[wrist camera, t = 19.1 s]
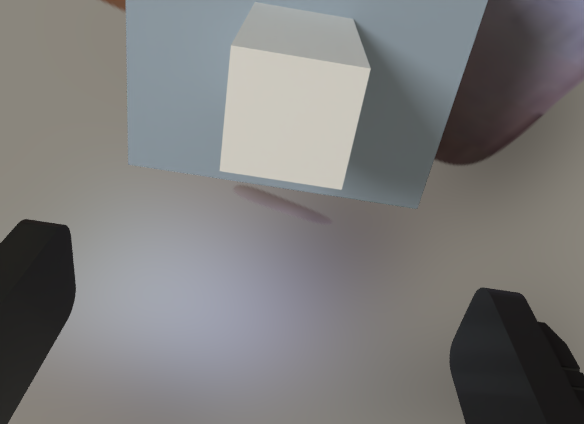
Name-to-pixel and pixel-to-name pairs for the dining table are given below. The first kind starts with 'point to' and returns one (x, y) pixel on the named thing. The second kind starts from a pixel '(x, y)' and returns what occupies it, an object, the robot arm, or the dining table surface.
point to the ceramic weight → (293, 96)
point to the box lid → (375, 108)
